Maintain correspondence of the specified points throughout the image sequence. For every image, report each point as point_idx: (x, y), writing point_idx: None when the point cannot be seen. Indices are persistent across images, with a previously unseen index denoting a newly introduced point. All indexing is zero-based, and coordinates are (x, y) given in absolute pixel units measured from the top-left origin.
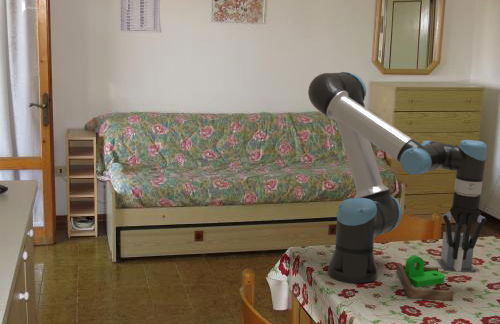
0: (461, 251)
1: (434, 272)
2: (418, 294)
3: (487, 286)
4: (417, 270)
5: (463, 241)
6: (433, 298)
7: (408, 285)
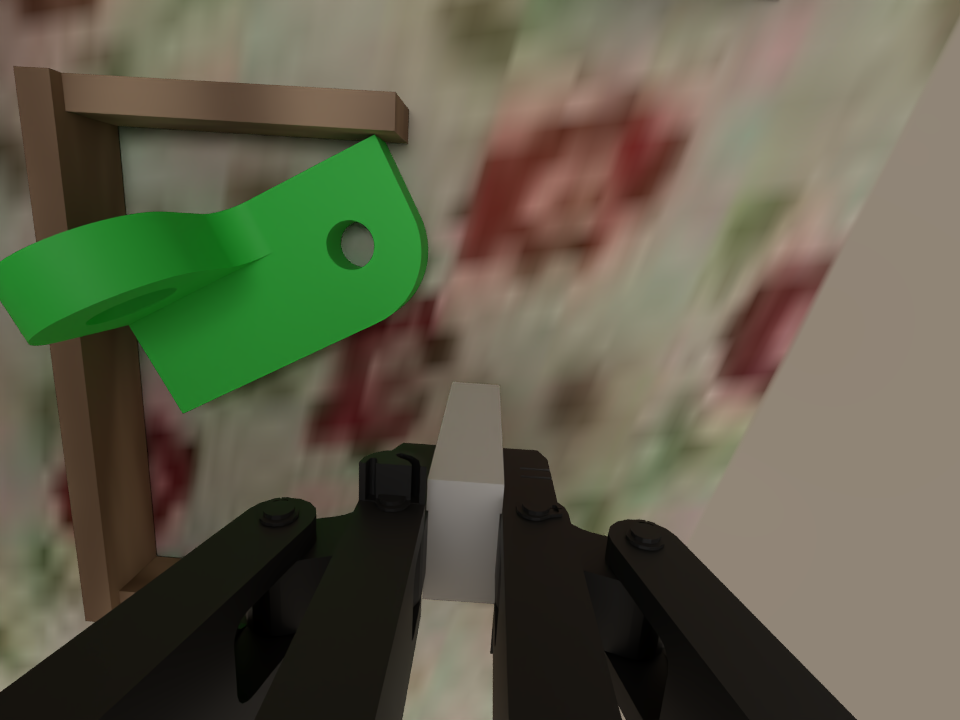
0: (465, 591)
1: (353, 193)
2: None
3: (730, 343)
4: (168, 292)
5: (498, 640)
6: None
7: (85, 576)
